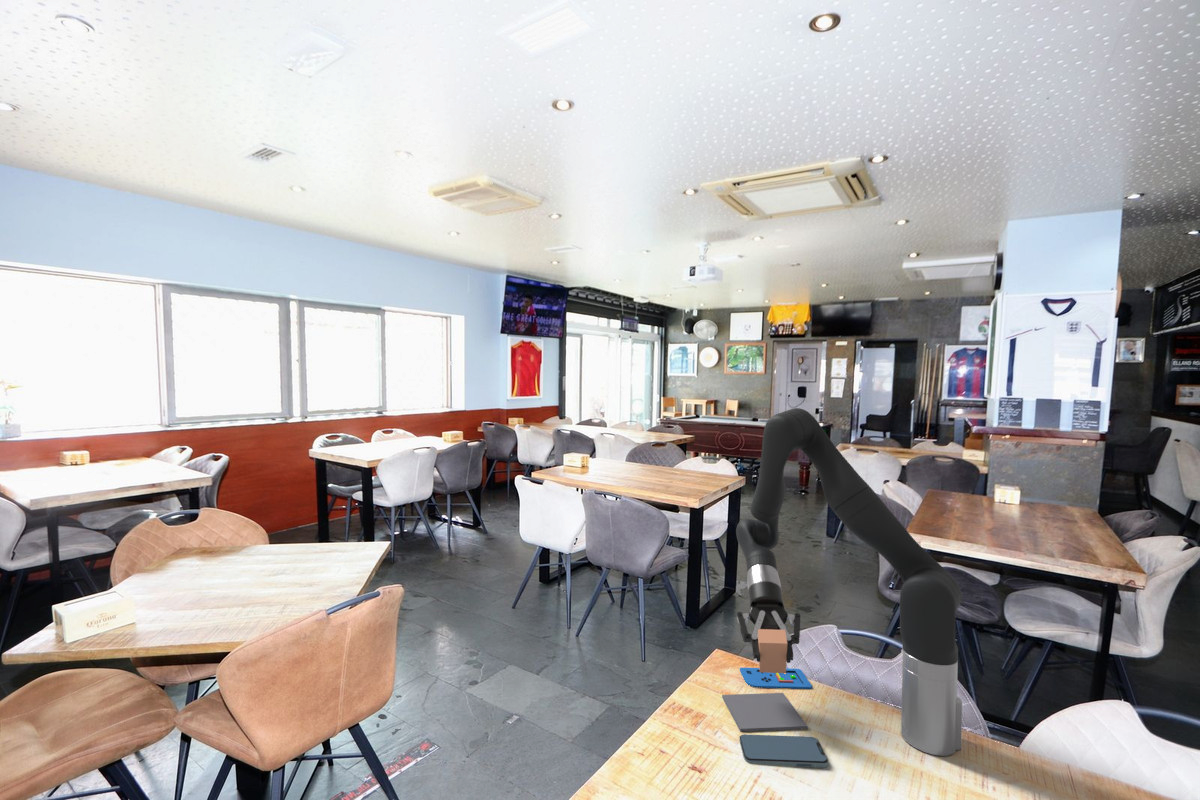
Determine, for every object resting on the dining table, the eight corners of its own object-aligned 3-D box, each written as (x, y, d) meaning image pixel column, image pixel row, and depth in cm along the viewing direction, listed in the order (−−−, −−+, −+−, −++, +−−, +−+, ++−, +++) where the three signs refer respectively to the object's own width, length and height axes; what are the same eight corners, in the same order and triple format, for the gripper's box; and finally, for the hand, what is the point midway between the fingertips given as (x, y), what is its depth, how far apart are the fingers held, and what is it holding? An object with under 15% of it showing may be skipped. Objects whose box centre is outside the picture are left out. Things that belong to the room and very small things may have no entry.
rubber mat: (783, 695, 120) (783, 692, 120) (807, 729, 108) (807, 726, 108) (722, 697, 119) (722, 694, 119) (740, 731, 107) (740, 728, 107)
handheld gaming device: (739, 666, 131) (800, 667, 131) (739, 670, 131) (800, 671, 131) (747, 684, 123) (813, 685, 123) (747, 689, 123) (813, 690, 123)
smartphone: (738, 732, 106) (816, 735, 104) (738, 741, 106) (816, 744, 104) (745, 759, 98) (829, 762, 97) (745, 768, 98) (829, 771, 97)
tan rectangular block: (783, 659, 118) (785, 629, 111) (785, 673, 116) (787, 643, 109) (758, 658, 119) (757, 629, 113) (759, 672, 117) (759, 642, 110)
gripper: (732, 579, 124) (738, 649, 111) (797, 580, 121) (811, 652, 108) (733, 598, 129) (738, 668, 115) (796, 599, 126) (809, 671, 112)
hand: (773, 660), depth 112 cm, fingers closed on tan rectangular block, 5 cm apart
